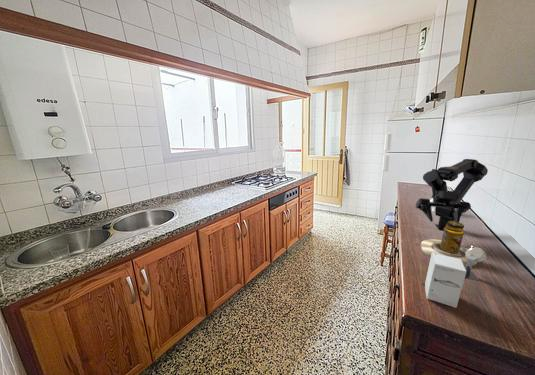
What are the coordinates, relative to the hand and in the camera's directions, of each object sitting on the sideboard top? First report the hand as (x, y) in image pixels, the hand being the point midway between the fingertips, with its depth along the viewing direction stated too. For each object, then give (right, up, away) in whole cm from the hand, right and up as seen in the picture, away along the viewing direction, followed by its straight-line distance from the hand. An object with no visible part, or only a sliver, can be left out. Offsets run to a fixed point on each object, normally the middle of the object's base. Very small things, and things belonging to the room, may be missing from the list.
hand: (444, 222), depth 94 cm
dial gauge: (-6, -16, -16) cm, 24 cm away
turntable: (-3, -12, -5) cm, 13 cm away
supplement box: (-23, -19, -26) cm, 40 cm away
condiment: (-3, -10, -5) cm, 12 cm away
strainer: (+29, 0, +44) cm, 53 cm away
